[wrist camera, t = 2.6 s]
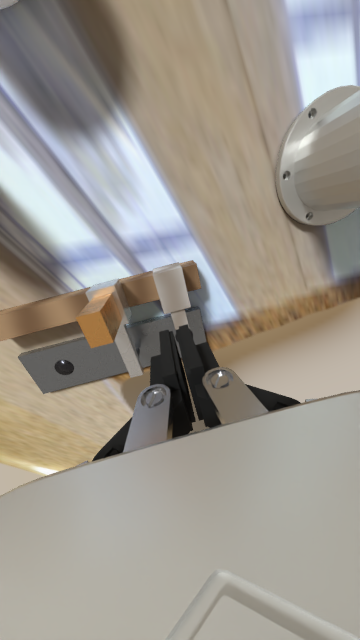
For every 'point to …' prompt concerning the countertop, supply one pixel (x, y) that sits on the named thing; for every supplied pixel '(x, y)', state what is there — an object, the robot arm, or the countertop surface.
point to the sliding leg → (110, 322)
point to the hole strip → (101, 354)
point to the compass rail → (138, 290)
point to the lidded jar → (7, 3)
